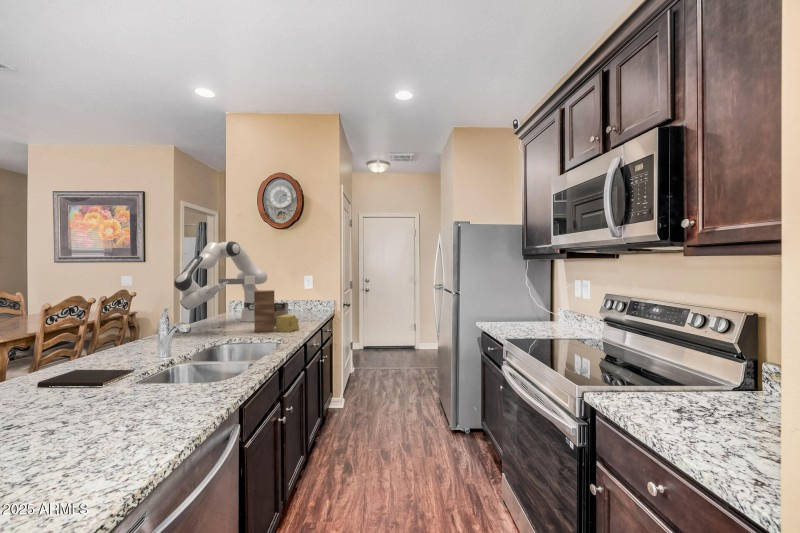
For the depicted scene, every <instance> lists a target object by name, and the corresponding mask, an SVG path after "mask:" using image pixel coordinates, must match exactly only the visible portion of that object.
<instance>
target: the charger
mask: <svg viewBox="0 0 800 533" xmlns="http://www.w3.org/2000/svg"><path fill="white" fill-rule="evenodd" d="M227 280H228V281H229V283H228V284H227V285H241V284H255V276H244V278H238V279H237V278H218V283H223V282H225V281H227ZM255 285H256V284H255Z"/></svg>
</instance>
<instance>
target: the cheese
mask: <svg viewBox="0 0 800 533" xmlns="http://www.w3.org/2000/svg"><path fill="white" fill-rule="evenodd" d="M275 329H276V332H280V333H281V332H283V333H291V332H293V331H295V330H296V331H299V330H300V325H299V318H297V316H296V315H295V314H289V313H288V314H286V315H282V316H277V318H276V326H275Z"/></svg>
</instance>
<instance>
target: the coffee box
mask: <svg viewBox="0 0 800 533" xmlns="http://www.w3.org/2000/svg"><path fill="white" fill-rule="evenodd" d="M286 314H289V303H288V302H274V327H276V318H277V316H282V315H286Z"/></svg>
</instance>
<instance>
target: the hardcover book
mask: <svg viewBox="0 0 800 533" xmlns="http://www.w3.org/2000/svg"><path fill="white" fill-rule="evenodd" d="M134 372H135V369H74V370H71V371H67V372H66V373H65V372H64V373H62V374H59V375H56V376H53V377H50V378H46V379H43V380H40V381H38V382H37V385H36V386H37V388H53V387H52V386H103V385H106V384H108V383H111V382H113V381H115V380H117V379H120V378H122V377H124V376H126V375H128V374H130V373H133V374H134ZM113 383H114V382H113ZM111 384H112V383H111ZM49 386H51V387H49ZM106 386H107V385H106Z"/></svg>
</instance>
